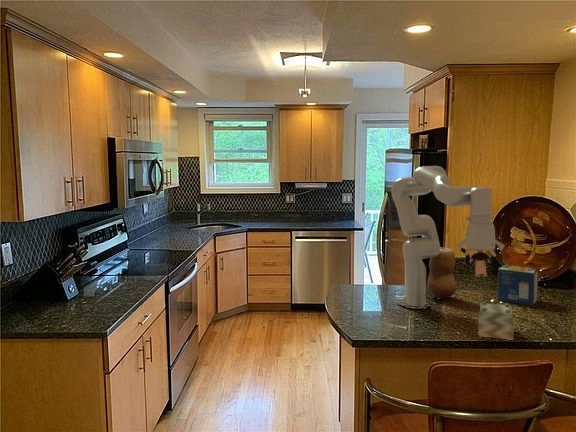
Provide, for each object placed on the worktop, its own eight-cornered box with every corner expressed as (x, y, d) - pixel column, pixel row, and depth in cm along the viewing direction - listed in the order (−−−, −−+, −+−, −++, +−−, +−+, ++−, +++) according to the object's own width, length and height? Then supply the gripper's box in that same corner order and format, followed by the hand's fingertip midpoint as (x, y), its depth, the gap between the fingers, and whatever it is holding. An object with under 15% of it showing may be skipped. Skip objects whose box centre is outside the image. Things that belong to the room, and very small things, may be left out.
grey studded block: (478, 337, 171) (478, 309, 170) (478, 326, 182) (478, 300, 181) (513, 341, 167) (514, 312, 166) (511, 330, 178) (512, 303, 177)
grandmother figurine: (487, 274, 176) (487, 242, 175) (491, 276, 172) (492, 243, 171) (467, 275, 176) (467, 242, 175) (471, 277, 172) (471, 244, 171)
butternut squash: (459, 302, 216) (460, 250, 213) (431, 302, 216) (431, 250, 213) (449, 294, 230) (450, 245, 227) (423, 294, 230) (423, 245, 227)
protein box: (502, 295, 225) (503, 264, 223) (537, 300, 215) (538, 268, 214) (496, 300, 217) (497, 268, 215) (532, 306, 207) (533, 272, 206)
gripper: (455, 220, 172) (455, 266, 174) (506, 221, 165) (505, 269, 167) (456, 218, 179) (456, 262, 181) (505, 219, 172) (505, 265, 174)
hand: (480, 265), depth 174 cm, fingers closed on grandmother figurine, 7 cm apart
